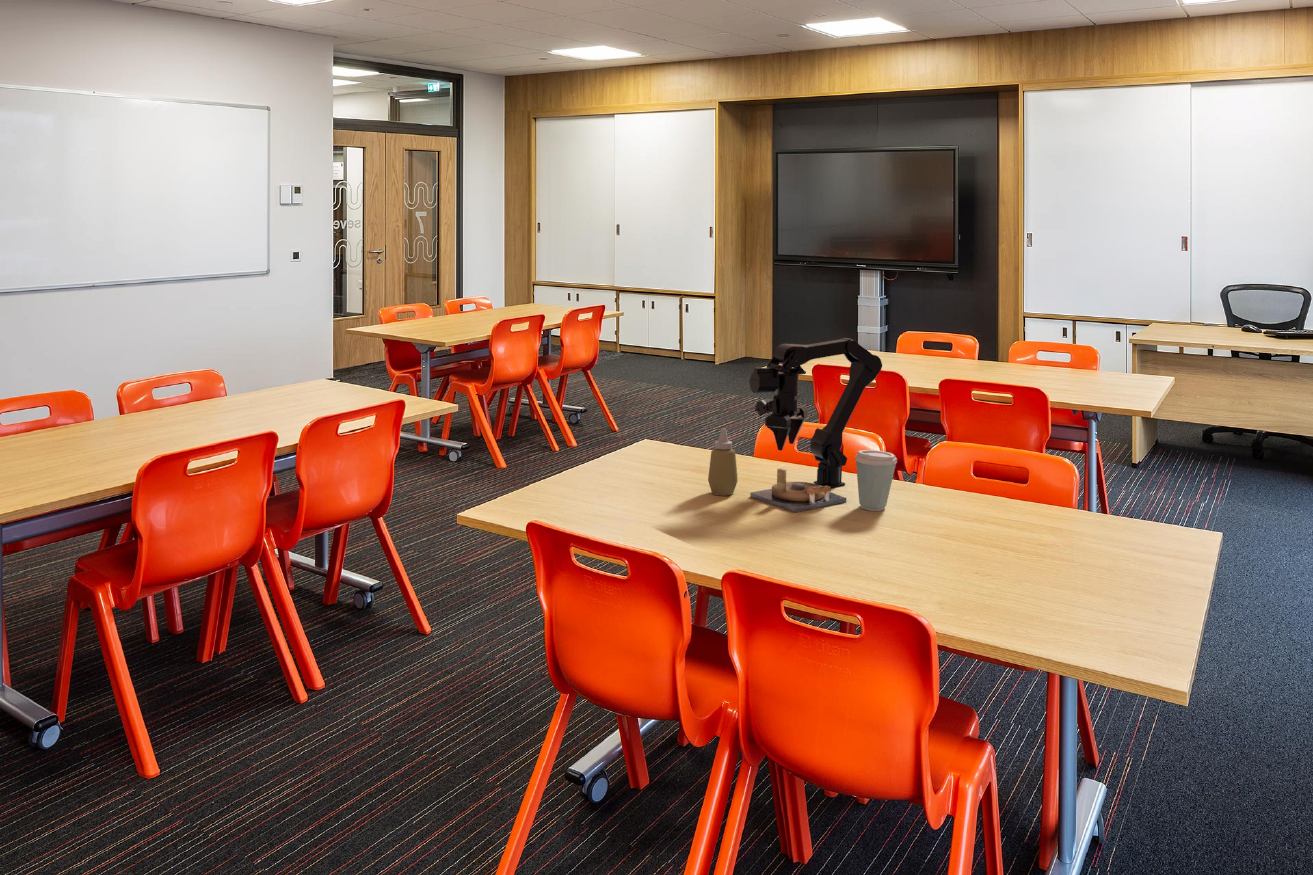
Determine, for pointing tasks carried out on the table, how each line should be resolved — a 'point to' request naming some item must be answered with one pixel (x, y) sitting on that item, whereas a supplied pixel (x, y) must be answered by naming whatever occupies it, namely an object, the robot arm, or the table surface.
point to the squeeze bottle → (723, 467)
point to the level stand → (800, 505)
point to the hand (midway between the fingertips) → (785, 447)
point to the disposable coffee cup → (874, 478)
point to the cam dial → (793, 488)
